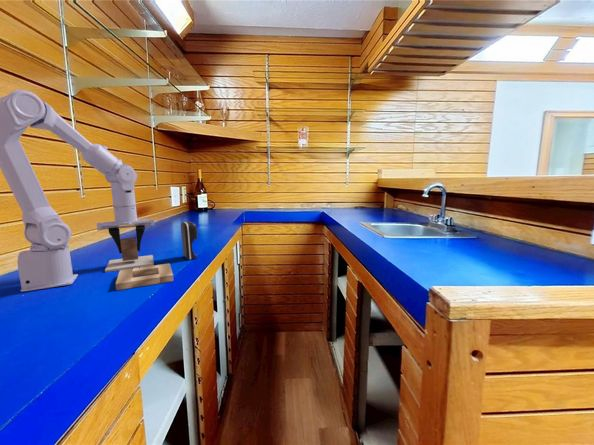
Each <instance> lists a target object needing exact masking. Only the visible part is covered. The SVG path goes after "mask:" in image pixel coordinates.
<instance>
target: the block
mask: <svg viewBox="0 0 594 445" xmlns="http://www.w3.org/2000/svg"><path fill="white" fill-rule="evenodd" d="M120 242H121V250H122V253H121V256H122V258H121V259H123V261H128V260H135V259H138V257H139V253H138V252H139V251H137V236H134V237H133V236H132V237H125V238H120Z"/></svg>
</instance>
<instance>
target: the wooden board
mask: <svg viewBox="0 0 594 445" xmlns="http://www.w3.org/2000/svg"><path fill="white" fill-rule="evenodd" d="M118 271H119V272H118V274H117V278H116V281H115V291H122V290H127V289H134V288H138V287H139V288H140V287H147V286H150V285H156V284H157V285H158V284H163V283H169V282H174V274H173V273H174V272H173V270H172V267H171V263H163V264H156V265H154V266H147V267H140V268H133V269H125V270H118Z"/></svg>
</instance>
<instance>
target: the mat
mask: <svg viewBox="0 0 594 445" xmlns="http://www.w3.org/2000/svg"><path fill="white" fill-rule="evenodd" d="M147 266H154V256H153V254H150V255H143V256H142V255H141V256H138V259H135V260H128V261H123V259H122V258H117V259H116V258H115V259H110V260H109V261H108V263H107V266H106V267H105V269H104V272H105V273H111V272H118V271H120V270H126V269H132V268H139V267H147Z"/></svg>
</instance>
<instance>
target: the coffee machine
mask: <svg viewBox="0 0 594 445" xmlns="http://www.w3.org/2000/svg"><path fill="white" fill-rule="evenodd" d="M180 230H181V231H180V232H181V234H180V235H181V242H182V243H181V244H182V254H183V256H184V258H186V259H187V260H194V259H197V257H198V254H196V253H194V251H193V243H194V241H195V240H198V238H199V235H198V229H197V225H196V224H195V223H194V222H192V221H182V222H181V223H180Z"/></svg>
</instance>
